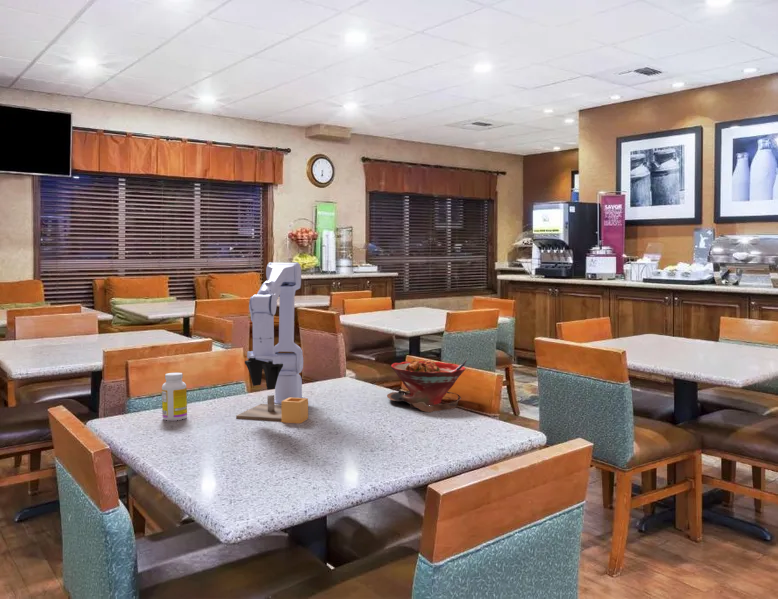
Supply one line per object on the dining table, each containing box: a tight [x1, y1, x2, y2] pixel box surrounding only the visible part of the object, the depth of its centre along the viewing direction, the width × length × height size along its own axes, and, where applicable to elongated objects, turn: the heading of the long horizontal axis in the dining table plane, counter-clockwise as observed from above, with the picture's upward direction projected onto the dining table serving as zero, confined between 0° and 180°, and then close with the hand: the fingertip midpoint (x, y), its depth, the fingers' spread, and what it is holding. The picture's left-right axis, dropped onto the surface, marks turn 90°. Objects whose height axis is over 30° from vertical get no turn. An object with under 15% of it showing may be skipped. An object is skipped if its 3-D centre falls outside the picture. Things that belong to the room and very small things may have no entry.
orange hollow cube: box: [280, 397, 309, 424], centre depth 183 cm, size 6×6×6 cm
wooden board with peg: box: [235, 394, 282, 422], centre depth 192 cm, size 16×14×6 cm
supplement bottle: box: [161, 372, 188, 422], centre depth 186 cm, size 7×7×13 cm
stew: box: [386, 357, 469, 413], centre depth 205 cm, size 28×24×16 cm
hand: (263, 387), depth 181 cm, fingers open, 7 cm apart
